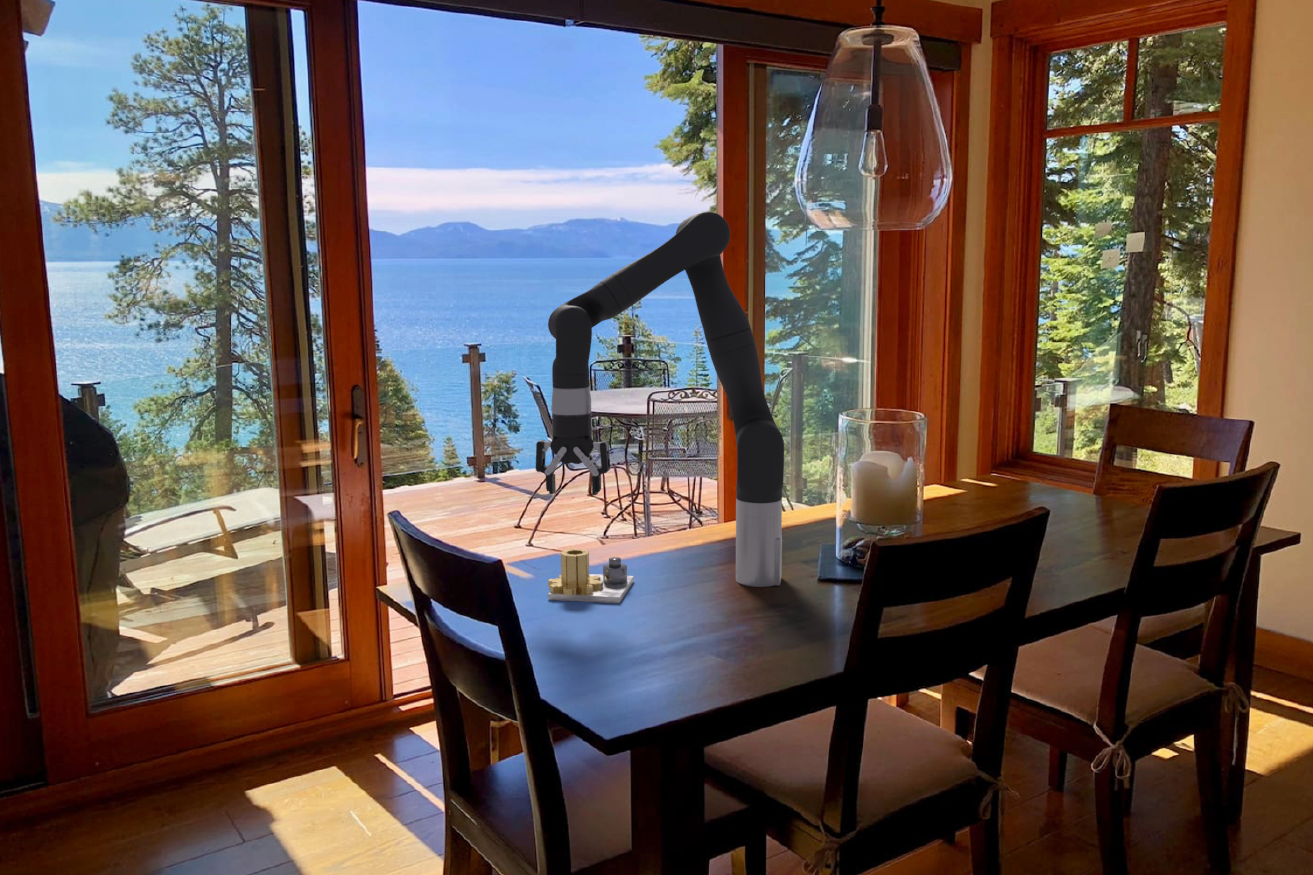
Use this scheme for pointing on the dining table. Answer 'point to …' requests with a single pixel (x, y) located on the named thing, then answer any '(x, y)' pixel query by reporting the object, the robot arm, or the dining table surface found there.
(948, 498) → the dining table surface
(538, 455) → the robot arm
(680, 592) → the dining table surface
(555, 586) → the planet gear
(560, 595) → the plate
